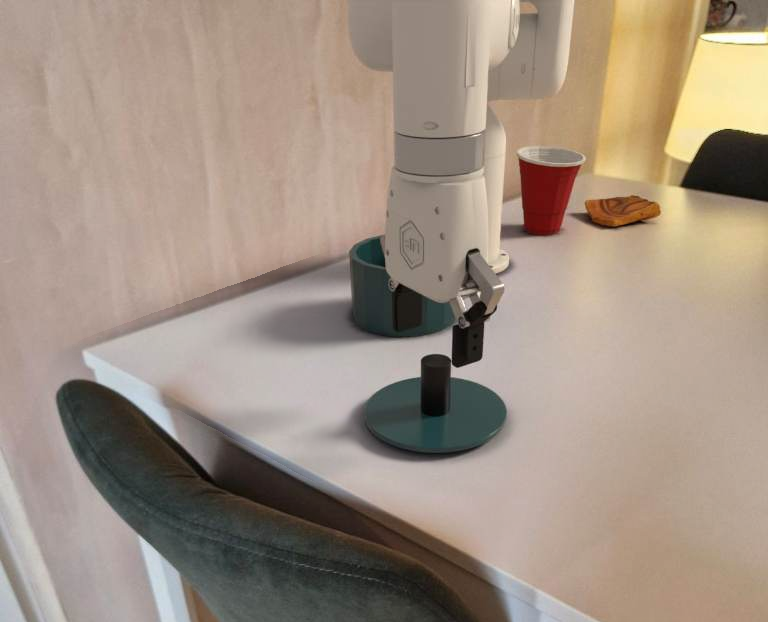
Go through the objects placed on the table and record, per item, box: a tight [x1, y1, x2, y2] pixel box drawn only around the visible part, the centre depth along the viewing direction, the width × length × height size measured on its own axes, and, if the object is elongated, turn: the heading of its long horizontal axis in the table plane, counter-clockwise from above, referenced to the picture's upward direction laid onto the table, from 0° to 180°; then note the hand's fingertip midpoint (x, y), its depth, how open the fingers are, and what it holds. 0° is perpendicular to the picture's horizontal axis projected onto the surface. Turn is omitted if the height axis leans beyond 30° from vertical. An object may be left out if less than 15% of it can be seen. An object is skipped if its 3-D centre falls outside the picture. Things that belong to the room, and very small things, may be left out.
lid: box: [364, 353, 508, 454], centre depth 77 cm, size 15×15×7 cm
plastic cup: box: [516, 145, 587, 236], centre depth 123 cm, size 11×11×12 cm
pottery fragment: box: [584, 194, 662, 228], centre depth 129 cm, size 10×5×10 cm
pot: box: [348, 234, 456, 338], centre depth 98 cm, size 14×14×8 cm
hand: (435, 345), depth 74 cm, fingers open, 9 cm apart
